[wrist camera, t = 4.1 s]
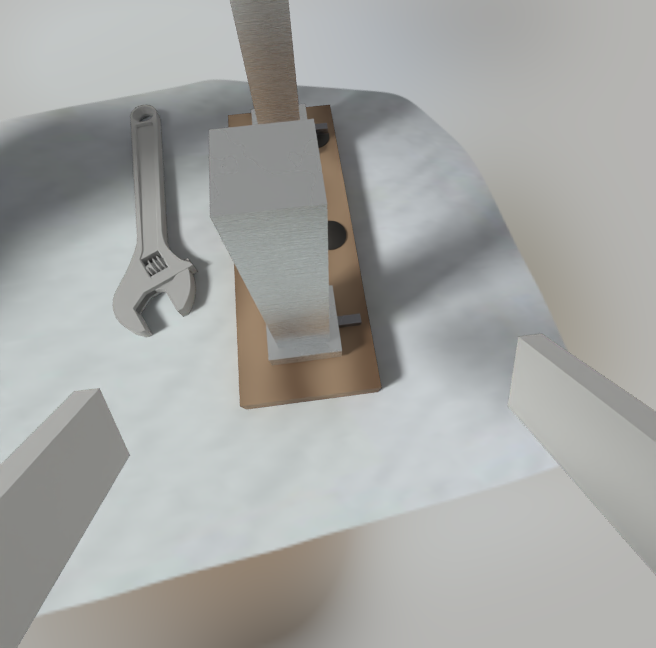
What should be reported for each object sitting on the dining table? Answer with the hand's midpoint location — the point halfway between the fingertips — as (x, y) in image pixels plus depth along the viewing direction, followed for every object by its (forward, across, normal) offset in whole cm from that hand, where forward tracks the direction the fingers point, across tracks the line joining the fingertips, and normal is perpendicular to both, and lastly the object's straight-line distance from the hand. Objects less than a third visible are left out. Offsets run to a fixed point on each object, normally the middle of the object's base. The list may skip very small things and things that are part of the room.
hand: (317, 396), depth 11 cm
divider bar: (+22, -1, +1) cm, 22 cm away
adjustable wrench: (+26, -13, +4) cm, 30 cm away
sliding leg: (+14, 0, -4) cm, 15 cm away
